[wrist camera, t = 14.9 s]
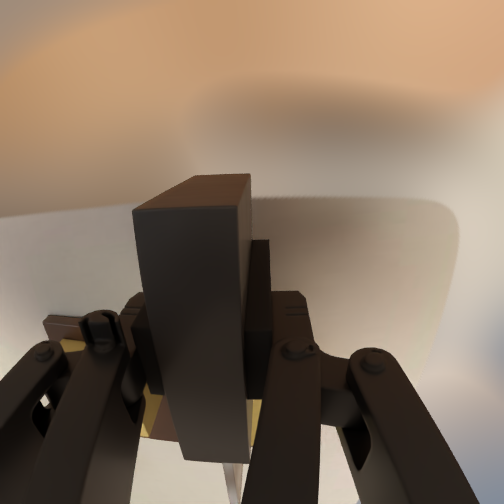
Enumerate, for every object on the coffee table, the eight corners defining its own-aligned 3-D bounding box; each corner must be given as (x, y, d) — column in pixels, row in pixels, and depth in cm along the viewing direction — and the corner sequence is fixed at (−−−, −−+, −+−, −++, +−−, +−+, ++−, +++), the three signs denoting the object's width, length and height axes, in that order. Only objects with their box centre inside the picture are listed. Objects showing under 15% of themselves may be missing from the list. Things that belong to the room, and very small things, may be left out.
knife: (193, 175, 14) (130, 209, 7) (250, 173, 13) (238, 205, 7) (222, 451, 19) (212, 536, 13) (257, 452, 19) (254, 538, 13)
